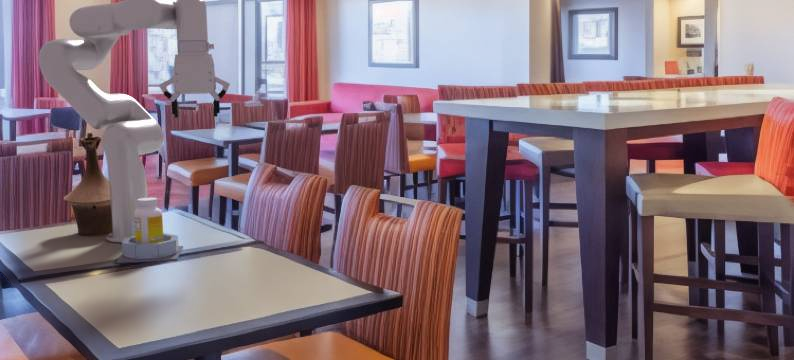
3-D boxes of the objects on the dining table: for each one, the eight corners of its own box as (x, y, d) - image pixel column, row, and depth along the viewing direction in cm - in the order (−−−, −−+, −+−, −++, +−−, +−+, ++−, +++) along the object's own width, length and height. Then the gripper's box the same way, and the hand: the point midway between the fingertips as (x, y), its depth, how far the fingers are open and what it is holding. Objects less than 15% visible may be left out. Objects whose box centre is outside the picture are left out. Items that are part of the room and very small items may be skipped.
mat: (126, 249, 209) (126, 248, 209) (183, 247, 212) (182, 245, 212) (116, 263, 196) (116, 261, 196) (177, 260, 198) (177, 258, 198)
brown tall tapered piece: (64, 229, 236) (57, 131, 232) (126, 223, 243) (120, 129, 239) (68, 241, 220) (60, 137, 216) (134, 234, 227) (127, 133, 223)
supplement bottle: (168, 247, 206) (165, 196, 205) (158, 253, 200) (155, 201, 198) (142, 246, 207) (139, 196, 205) (131, 253, 201) (128, 201, 199)
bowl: (128, 248, 209) (127, 234, 208) (180, 246, 211) (180, 232, 210) (119, 260, 196) (118, 246, 196) (175, 258, 198) (174, 243, 198)
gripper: (228, 48, 211) (231, 115, 214) (159, 49, 209) (163, 116, 212) (227, 48, 204) (230, 117, 207) (155, 48, 202) (159, 118, 204)
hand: (196, 116), depth 209 cm, fingers open, 9 cm apart
